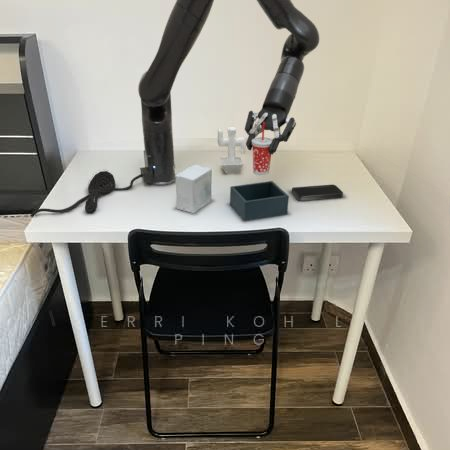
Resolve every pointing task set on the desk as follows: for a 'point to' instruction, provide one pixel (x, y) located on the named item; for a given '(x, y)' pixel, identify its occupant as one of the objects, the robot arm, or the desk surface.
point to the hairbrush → (97, 182)
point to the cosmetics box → (193, 188)
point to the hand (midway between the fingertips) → (259, 150)
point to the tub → (258, 200)
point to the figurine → (231, 151)
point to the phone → (317, 192)
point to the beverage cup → (261, 154)
